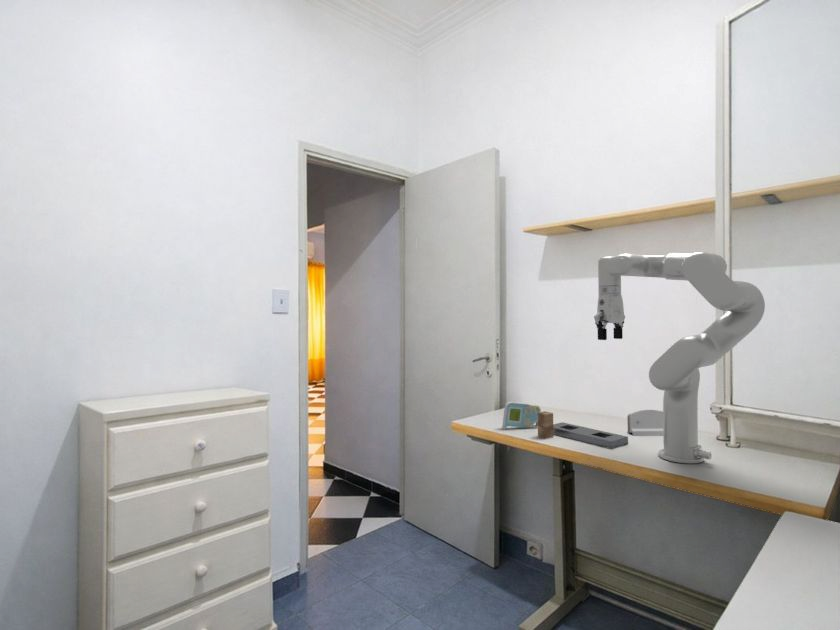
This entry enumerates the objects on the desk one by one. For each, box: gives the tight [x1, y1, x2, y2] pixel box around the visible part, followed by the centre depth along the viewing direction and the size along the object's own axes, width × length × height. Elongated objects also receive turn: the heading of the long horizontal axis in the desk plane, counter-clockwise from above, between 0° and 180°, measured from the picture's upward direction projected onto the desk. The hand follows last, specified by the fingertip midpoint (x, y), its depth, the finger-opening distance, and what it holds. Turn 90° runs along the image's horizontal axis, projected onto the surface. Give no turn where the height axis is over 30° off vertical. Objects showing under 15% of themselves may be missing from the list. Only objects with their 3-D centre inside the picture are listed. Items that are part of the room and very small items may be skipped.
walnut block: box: [537, 411, 554, 439], centre depth 177 cm, size 4×4×9 cm
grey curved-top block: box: [626, 409, 664, 437], centre depth 180 cm, size 17×5×10 cm, turn 89°
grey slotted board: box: [553, 422, 629, 450], centre depth 174 cm, size 28×10×2 cm, turn 35°
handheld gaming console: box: [501, 401, 542, 430], centre depth 190 cm, size 11×3×15 cm
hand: (610, 339), depth 168 cm, fingers open, 9 cm apart
